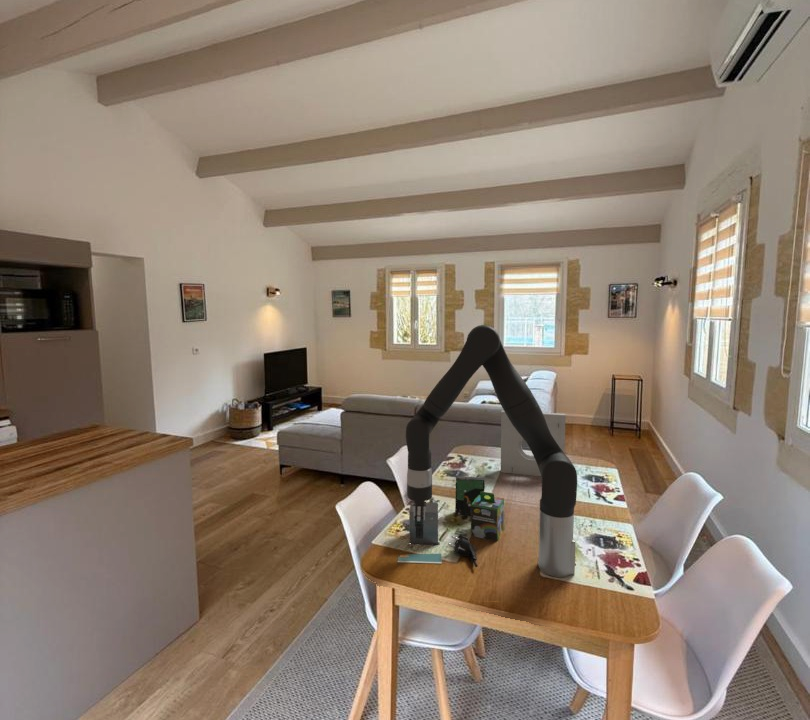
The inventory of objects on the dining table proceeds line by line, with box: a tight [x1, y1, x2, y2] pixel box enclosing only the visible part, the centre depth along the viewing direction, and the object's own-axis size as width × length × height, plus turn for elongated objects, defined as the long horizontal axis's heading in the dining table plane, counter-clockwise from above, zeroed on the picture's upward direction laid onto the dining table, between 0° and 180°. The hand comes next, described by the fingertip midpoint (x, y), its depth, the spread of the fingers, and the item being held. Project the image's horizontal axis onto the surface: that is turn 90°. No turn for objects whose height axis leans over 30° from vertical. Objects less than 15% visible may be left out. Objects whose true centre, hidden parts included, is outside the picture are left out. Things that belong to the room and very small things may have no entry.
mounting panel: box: [500, 410, 566, 477], centre depth 192 cm, size 27×5×30 cm, turn 73°
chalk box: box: [470, 491, 505, 542], centre depth 145 cm, size 9×9×15 cm
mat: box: [397, 553, 443, 565], centre depth 133 cm, size 13×9×1 cm
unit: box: [408, 501, 441, 546], centre depth 142 cm, size 10×8×11 cm
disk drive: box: [454, 475, 486, 517], centre depth 157 cm, size 10×3×15 cm, turn 78°
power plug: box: [447, 534, 478, 568], centre depth 130 cm, size 6×8×12 cm
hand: (419, 537), depth 132 cm, fingers closed
